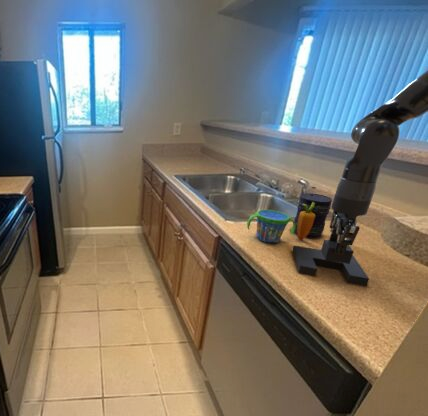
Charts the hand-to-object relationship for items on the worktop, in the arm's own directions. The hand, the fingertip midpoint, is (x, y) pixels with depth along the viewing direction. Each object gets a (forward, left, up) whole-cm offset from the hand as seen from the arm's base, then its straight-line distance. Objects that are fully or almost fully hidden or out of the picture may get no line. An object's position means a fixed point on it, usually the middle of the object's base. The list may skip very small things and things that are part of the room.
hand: (335, 249), depth 80 cm
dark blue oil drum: (+1, -30, -8) cm, 31 cm away
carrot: (+4, -22, -8) cm, 23 cm away
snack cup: (+15, -18, -8) cm, 24 cm away
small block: (0, 0, -2) cm, 3 cm away
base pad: (0, -4, -8) cm, 9 cm away
